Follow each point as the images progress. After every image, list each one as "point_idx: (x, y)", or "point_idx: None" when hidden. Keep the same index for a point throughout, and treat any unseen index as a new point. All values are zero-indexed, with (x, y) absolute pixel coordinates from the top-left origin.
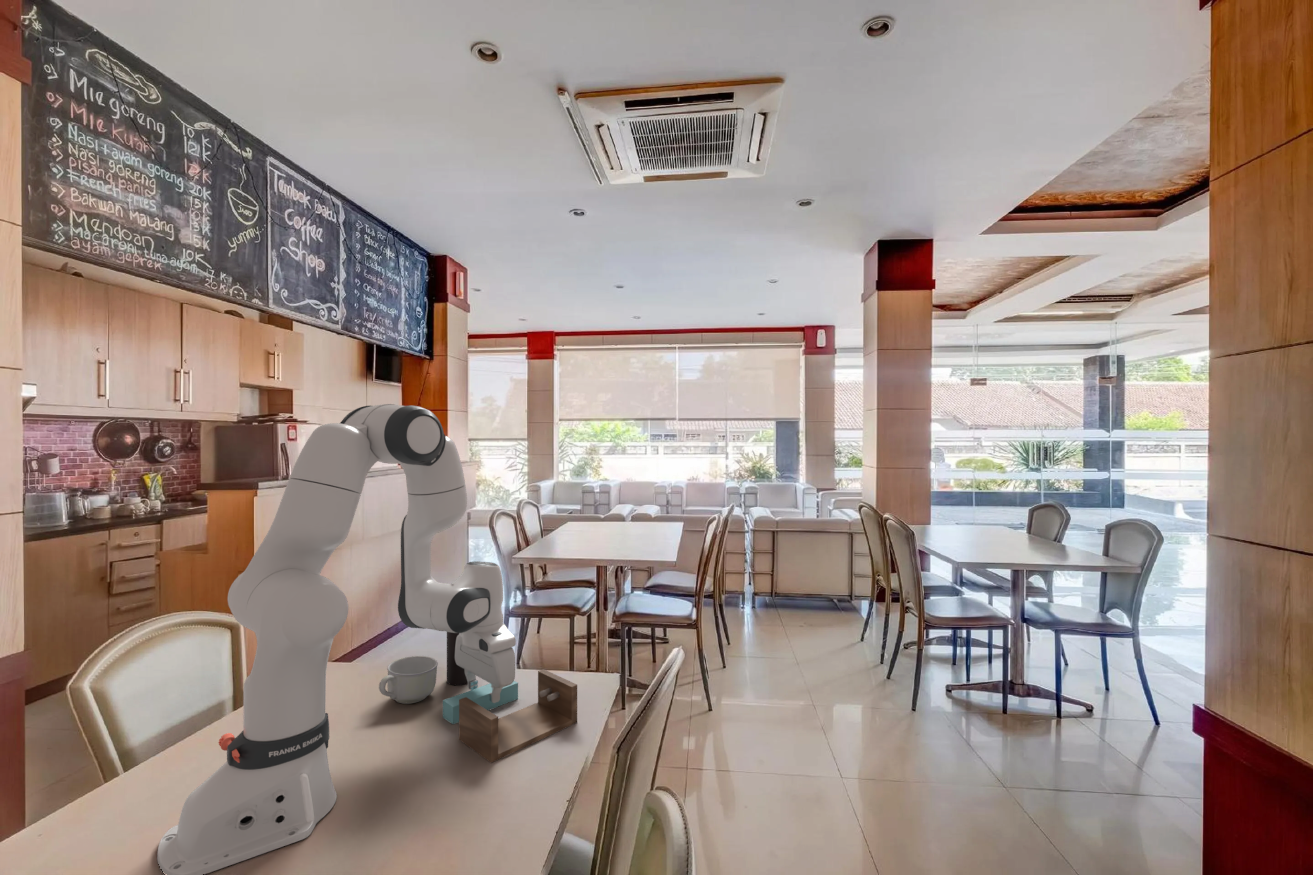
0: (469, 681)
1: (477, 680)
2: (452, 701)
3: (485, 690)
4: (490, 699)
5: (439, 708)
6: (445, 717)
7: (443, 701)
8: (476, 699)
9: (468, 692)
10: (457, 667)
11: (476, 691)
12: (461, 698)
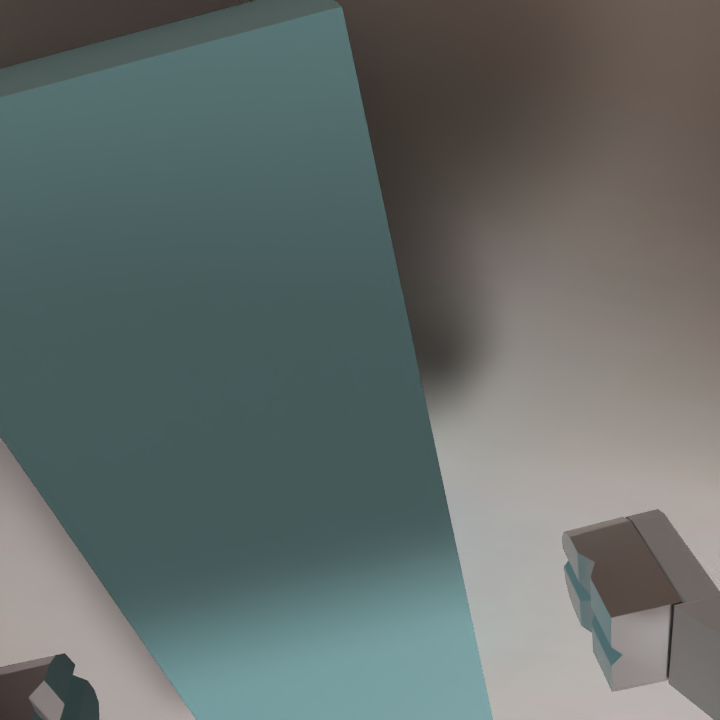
0: (675, 608)
1: (610, 686)
2: (144, 206)
3: (314, 681)
4: (13, 684)
5: (648, 17)
6: (217, 11)
7: (305, 15)
8: (98, 557)
9: (395, 513)
10: None
11: (355, 600)
12: (208, 386)
